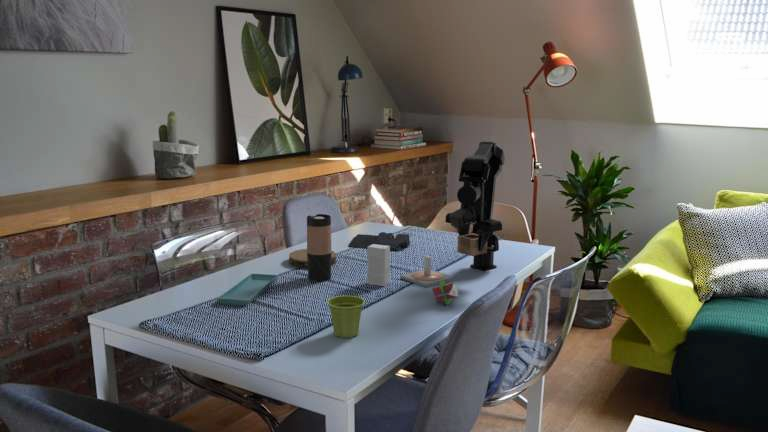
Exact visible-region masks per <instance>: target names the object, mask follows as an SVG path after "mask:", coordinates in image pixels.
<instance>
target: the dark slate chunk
mask: <svg viewBox="0 0 768 432" xmlns="http://www.w3.org/2000/svg"><path fill="white" fill-rule="evenodd" d="M372 244H377V245H386V246H390V252H396V253H397V252H403V251H404V250H405V249H407V248H409V247H410V245H411V241H410V234H407V233H406V234H404V233H397V234H396V236H394V234H393V233H391V232H385V231H382V232H381V231H380V232H379V233H378V235H375V234H373V235H372V234H360V233H358V234H356V235H355V236H354V237H353V238H352V239H351V241H350V242H349V244H348V247H349V248H350V249H351V248H353V249H363V250H367V247H368V246H370V245H372Z"/></svg>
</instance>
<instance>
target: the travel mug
mask: <svg viewBox="0 0 768 432" xmlns="http://www.w3.org/2000/svg"><path fill="white" fill-rule="evenodd" d="M306 249H307V261H308V268H307V274H308V275H307V277H308V280H310V281H312V282H316V283H317V282H327V281H329V280H331V278H332V265H331V252H332V251H333V250H332V218H331V216H330V214H323V213H317V214H316V215H310V214H309V215H307V216H306Z"/></svg>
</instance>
